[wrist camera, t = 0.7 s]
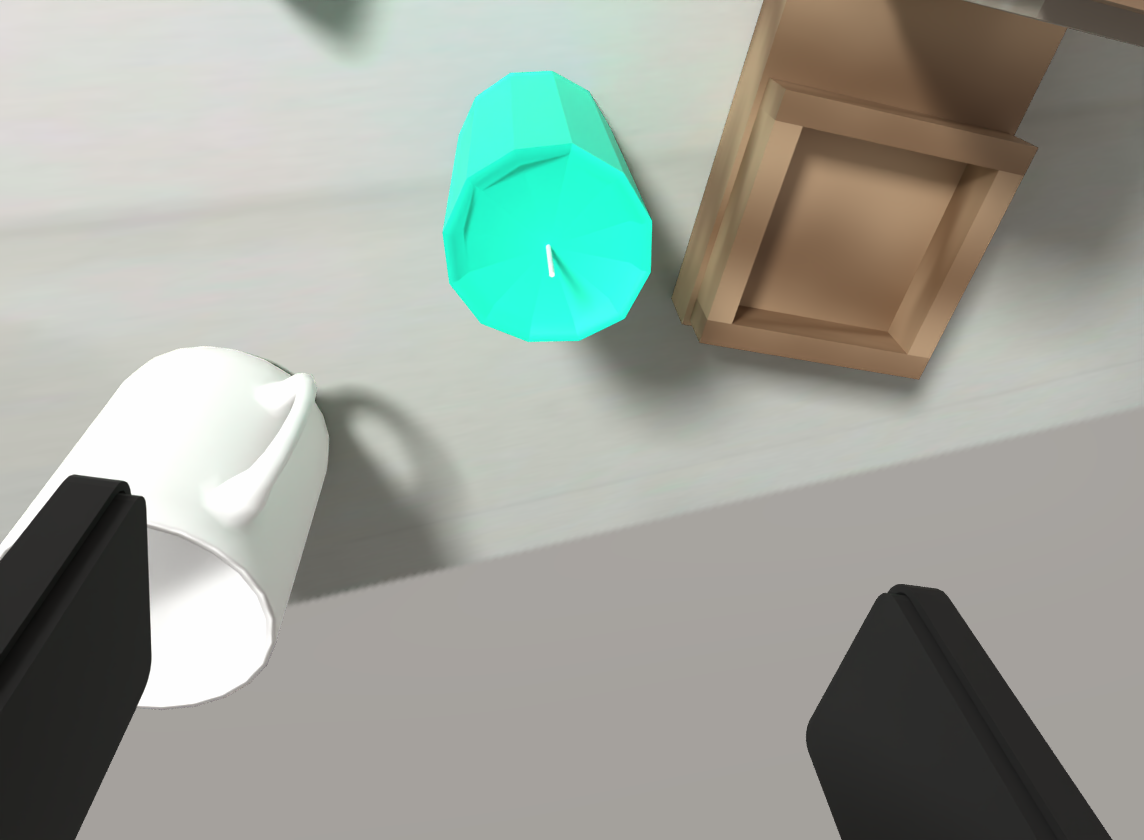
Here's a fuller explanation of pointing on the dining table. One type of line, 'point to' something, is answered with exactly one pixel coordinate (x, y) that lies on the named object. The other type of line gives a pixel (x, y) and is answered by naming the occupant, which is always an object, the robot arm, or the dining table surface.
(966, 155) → the brown wooden stand
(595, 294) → the candle
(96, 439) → the mug
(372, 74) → the dining table surface
